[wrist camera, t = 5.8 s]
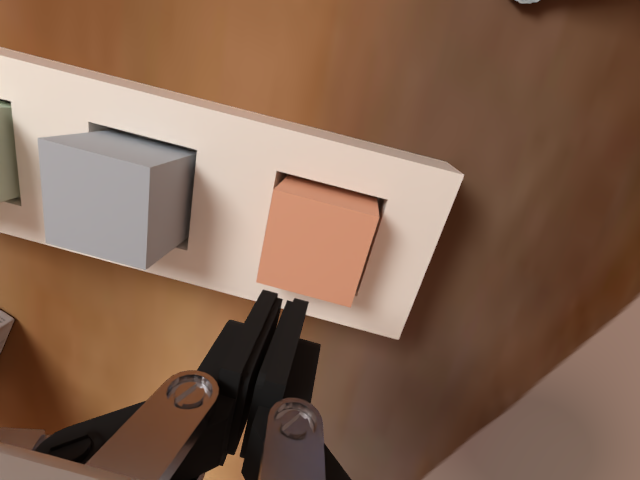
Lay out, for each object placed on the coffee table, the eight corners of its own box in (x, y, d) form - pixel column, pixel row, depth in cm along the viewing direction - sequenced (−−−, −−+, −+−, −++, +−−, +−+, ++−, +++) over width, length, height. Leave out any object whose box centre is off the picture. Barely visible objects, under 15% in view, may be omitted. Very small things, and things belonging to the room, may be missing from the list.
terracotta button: (376, 192, 20) (379, 217, 16) (353, 266, 22) (350, 307, 18) (293, 170, 20) (273, 189, 16) (277, 246, 22) (256, 282, 18)
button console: (446, 161, 20) (464, 174, 17) (393, 303, 24) (398, 339, 21) (-71, 28, 21) (-164, 12, 17) (-44, 186, 25) (-115, 201, 21)
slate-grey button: (199, 152, 19) (150, 167, 15) (191, 234, 21) (145, 270, 17) (112, 129, 19) (37, 137, 15) (112, 213, 21) (45, 243, 17)
